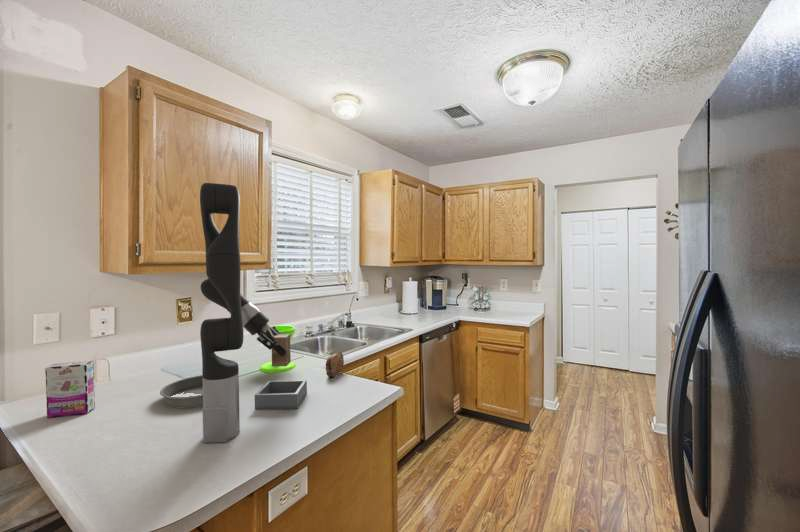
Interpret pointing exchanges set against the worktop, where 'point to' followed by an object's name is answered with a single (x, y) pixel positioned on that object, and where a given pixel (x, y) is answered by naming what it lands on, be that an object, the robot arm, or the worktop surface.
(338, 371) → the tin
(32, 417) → the worktop surface
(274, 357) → the brown wooden block
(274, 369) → the wineglass
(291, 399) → the box
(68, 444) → the worktop surface
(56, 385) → the candy bar box
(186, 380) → the cake pan
